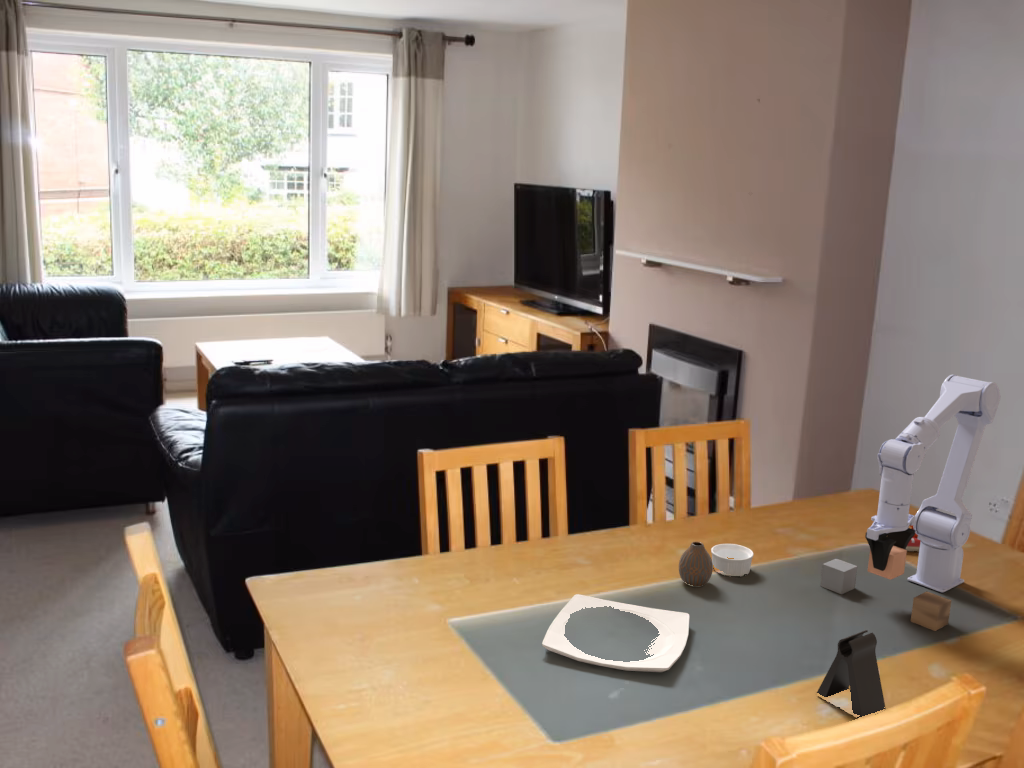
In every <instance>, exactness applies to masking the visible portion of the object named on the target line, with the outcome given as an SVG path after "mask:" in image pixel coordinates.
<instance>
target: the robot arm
mask: <svg viewBox="0 0 1024 768" xmlns="http://www.w3.org/2000/svg"><path fill="white" fill-rule="evenodd" d="M1000 401H1001V393H1000V389H999V386H998V383H996V382H993V381H984V380H980V379H975V378H969V377H965V376H961V375H957V374H949V375H948V376H947V377H946V378H945V379H944V380H943V382H942V384H941V386H940V391H939V397H938V399H937V400H936V401H935V403H934V404H933V405H932V407H931V408H930V409H929V411H928V412H927V413H926V414H925V416H918V417H915V418H914V419H913V420H912V421H911V422H910V423H909V424H908V425H907V426H906V427H905V428H904V429H903V430H902V431H901V433H899V434H898V435H897V436H896V437H895V439H894V438H891V439H888V440H885V441H884V442H883V443H882V444H881V446H880V448H879V450H878V453H877V457H876V459H877V464H878V467H879V471H878V473H879V475H880V476H881V480H880V485H879V486H880V487H879V488H880V489H879V496H878V504H877V505H878V506H877V513H876V514H875V515H873V516H871V519H870V520H871V521H872V524H871V525H870V526H869V527H868V528H867V530H866V532H865V536H864V537H865V540H866V541H867V543H868V546H869V551H870V550H871V554H872V560H873V567H874V568H876V569H878V570H881V571H884V570H885V568H886V566H887V562H888V557H889V554H890V551H891V549H892V547H893V546H896V547H899V548H902V549H906V547H907V545H908V543H909V542H910V540H911V539H912V537H913V536H914V535H915V533H916V534H917V535H918V540H921V542H920V550H919V552H918V558H917V567H916V572H915V574H912V575H911V576H909V577H907V581H909V582H912V583H915V584H916V585H917V584H918V585H920V586H922V587H926V588H928V589H932V590H933V591H937V592H939V593H945V592H947V591H949V590H951V589H953V588H955V587H957V586H959V585H961V584H964V583H965V579H963V578H961V574H962V568H963V559H964V549H963V546H964V545H965V544H966V543H967V541H968V539H969V537H970V533H971V522H972V518H973V514H971V512H970V510H969V509H968V508H967V506H966V505H965V504H964V502H963V499H964V496H965V493H966V490H967V487H968V482H969V480H970V477H971V473H972V470H973V468H974V463H975V461H976V457H977V455H978V451H979V448H980V446H981V441H982V438H983V435H984V432H985V429H986V426H988V425H990V424H993V422H994V419H995V417H996V414H997V410H998V409H999V404H1000ZM953 417H955V418H956V421H957V423H958V425H957V427H956V431H955V434H954V437H953V441H952V442H951V443H952V444H951V445H950V450H949V453H948V456H947V459H946V462H945V466H944V469H943V472H942V476H941V478H940V482H939V485H938V488H937V492H936V494H934V495H932V496H930V497H928V498H925V499H923V500H922V502H921V505H920V507H919V509H918V511H917V512H916V513H915V515H913V514H910V507H911V500H912V498H911V497H912V490H913V483H914V474H916V472H917V471H919V469H920V468H921V465H922V462H923V460H924V458H925V457H926V452H927V451H928V450H929V449H930V448H931V447H932V446H933V444H934V443H936V441H937V440H938V439H939V438H940V435H941V431H940V429H941V428H942V427H943V426H944V425H946V423H948V422H949V421H950V420H951V419H952V418H953ZM940 510H941V511H940ZM943 511H946V512H948V513H946V512H943ZM950 513H952V514H953V515H952V514H950ZM912 525H913V528H914V530H913V529H911V527H910V526H912Z"/></svg>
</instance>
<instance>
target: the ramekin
mask: <svg viewBox="0 0 1024 768" xmlns="http://www.w3.org/2000/svg"><path fill="white" fill-rule="evenodd" d="M710 551H711V559H712V564H713V565H714V567H715V568H717V569H719V570H720V571H723V572H724V573H726V574H731V575H744V574H747V575H748V574H749V573H750V571H751V566H752V560H753V557H754V552H753V550H752V549H750V548H749V547H746V546H744V545H740V544H737V543H720V544H716V545H714V546H712V547H711V548H710ZM727 557H728V558H734V559H728V558H727Z"/></svg>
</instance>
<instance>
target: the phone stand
mask: <svg viewBox="0 0 1024 768" xmlns="http://www.w3.org/2000/svg"><path fill="white" fill-rule="evenodd" d="M868 632H869V631H868V629H865V630H862V631H860V632H856V633H855V634H854V633H853V634H852V635H850V636H847V637H844V638H841V639H840V640H839V641H838V642H837V651H836V652H837V653H836V656H835V658H834V660H833V661H832V663H831V665H830V667H829V668H828V670H827V673H825V674H826V675H825V676H824V678H823V680H822V682H821V684H820V686H819V688H818V689H817V692H816V693H819V694H820V695H822V696H824V697H828V696H831V695H834V694H836V693H839V692H841V691H844V690H847V689H850V692H851V701H852V710H853V713H854V714H857V715H860V716H859V717H862V716H865V715H868V714H871V713H875V712H877V711H880V710H883V709H885V710H887V709H886V704H885V703H886V702H885V698H884V692H883V686H882V681H881V675H880V671H879V667H878V666H879V665H878V664H879V663H878V660H877V654H876V648H877V645H878V644H877V643H878V641H877V640H878V639H877V637H876V635H875V633H873V632H870V633H868ZM866 633H867V634H866ZM864 634H865V635H864ZM884 707H885V708H884ZM859 717H857V718H859Z"/></svg>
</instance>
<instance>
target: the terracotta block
mask: <svg viewBox="0 0 1024 768" xmlns="http://www.w3.org/2000/svg"><path fill="white" fill-rule="evenodd" d="M907 553H908V551H907V550H905V549H902V548H899V547H896V546H893V547H892V549H891V551H890V554H889V557H888V562H887V566H886V568H885V570H884V571H881V570H878V569H876V568H874V567H873V560H872V554H871V550H870V549H869V555H868V563H867V573H871V574H874V575H877V576H880V577H882V578H884V579H888V580H889V581H891V580H894V579H896V578H899V576H901V575H904V574H905V568H906V562H907Z"/></svg>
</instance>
